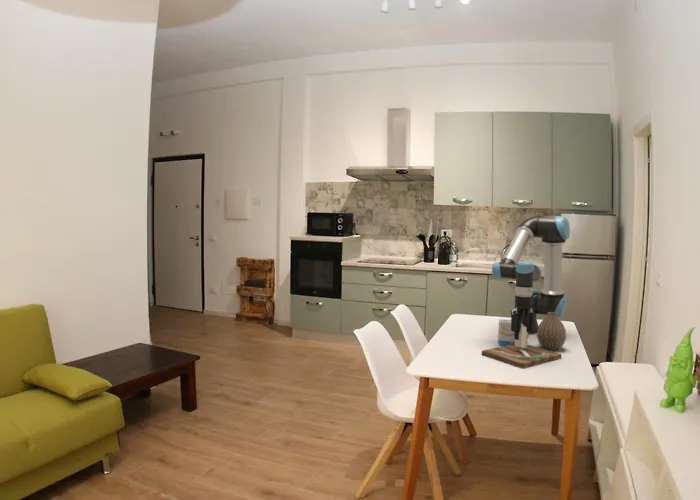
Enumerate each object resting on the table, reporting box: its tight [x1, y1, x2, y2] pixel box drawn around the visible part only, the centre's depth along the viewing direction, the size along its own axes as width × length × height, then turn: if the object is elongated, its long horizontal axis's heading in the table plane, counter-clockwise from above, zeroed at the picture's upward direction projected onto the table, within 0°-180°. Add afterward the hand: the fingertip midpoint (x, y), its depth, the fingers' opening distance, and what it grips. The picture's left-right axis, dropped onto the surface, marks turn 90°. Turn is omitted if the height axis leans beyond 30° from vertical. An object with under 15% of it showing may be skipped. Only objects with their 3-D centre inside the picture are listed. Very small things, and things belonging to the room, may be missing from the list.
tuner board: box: [481, 344, 562, 369], centre depth 220 cm, size 28×22×2 cm
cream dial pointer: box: [518, 323, 530, 358], centre depth 219 cm, size 16×2×12 cm, turn 176°
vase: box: [536, 312, 567, 351], centre depth 235 cm, size 13×13×18 cm
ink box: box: [497, 318, 515, 347], centre depth 241 cm, size 9×8×12 cm
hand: (521, 345), depth 222 cm, fingers closed on cream dial pointer, 4 cm apart
